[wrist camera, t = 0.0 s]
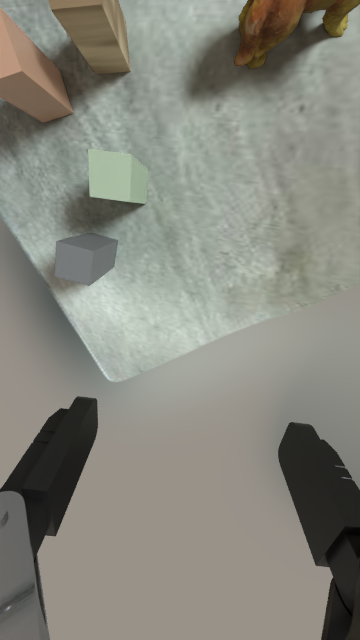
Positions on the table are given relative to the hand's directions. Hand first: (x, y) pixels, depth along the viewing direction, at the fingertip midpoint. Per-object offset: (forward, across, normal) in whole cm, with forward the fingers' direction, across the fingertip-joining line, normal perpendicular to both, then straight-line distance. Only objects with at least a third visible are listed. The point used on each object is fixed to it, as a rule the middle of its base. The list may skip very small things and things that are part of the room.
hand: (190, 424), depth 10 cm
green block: (+29, +9, -10) cm, 32 cm away
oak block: (+29, +12, -23) cm, 39 cm away
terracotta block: (+29, +19, -18) cm, 39 cm away
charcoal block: (+29, +13, -1) cm, 32 cm away
